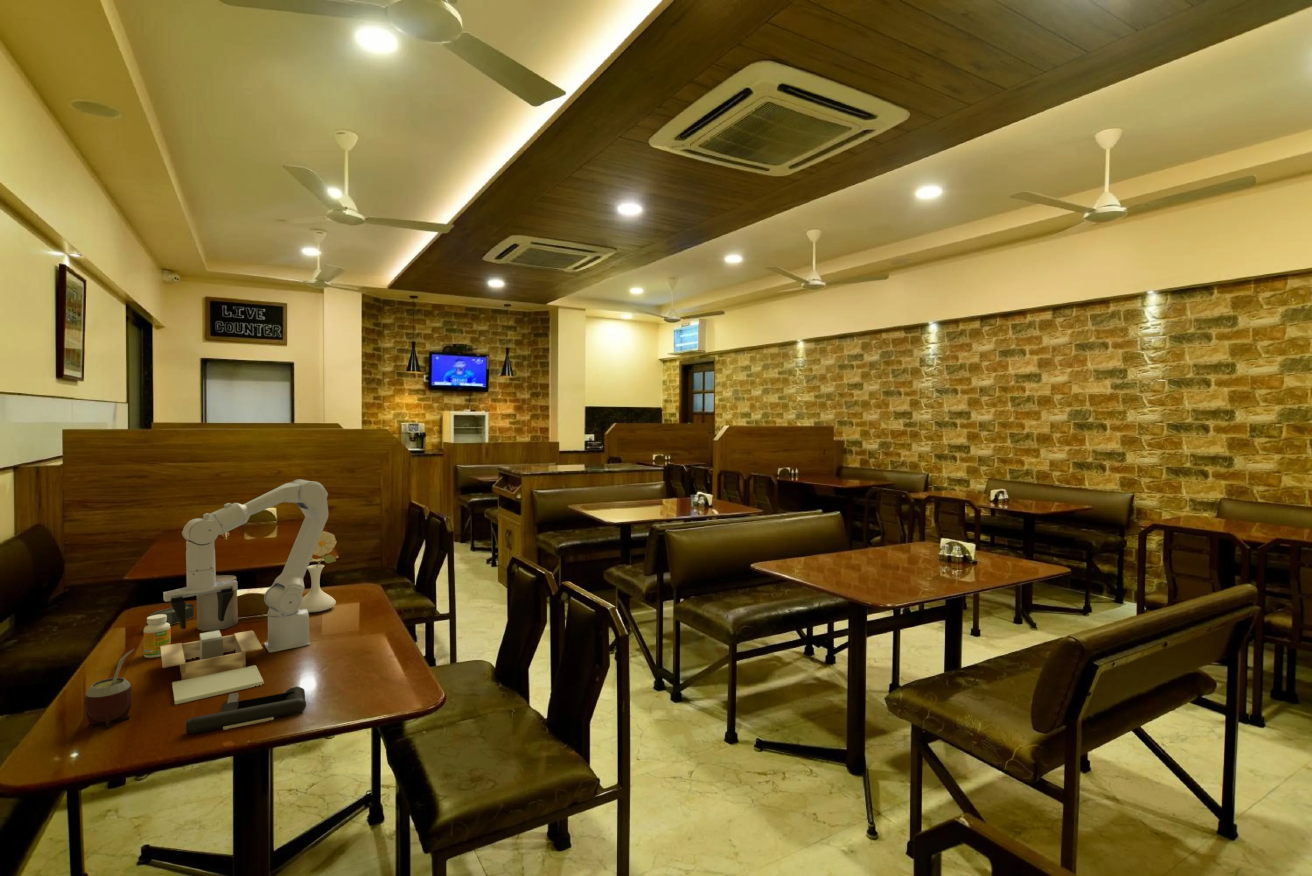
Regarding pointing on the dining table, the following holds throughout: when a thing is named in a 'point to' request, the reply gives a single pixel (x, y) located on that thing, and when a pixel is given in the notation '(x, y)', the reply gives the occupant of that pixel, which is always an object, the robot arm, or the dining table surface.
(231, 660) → the carton
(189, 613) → the dark grey stapler
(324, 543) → the flower in vase
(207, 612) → the pillar candle
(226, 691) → the sage board
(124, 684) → the mate gourd
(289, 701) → the door handle
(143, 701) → the dining table surface
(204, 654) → the block
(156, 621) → the supplement bottle
